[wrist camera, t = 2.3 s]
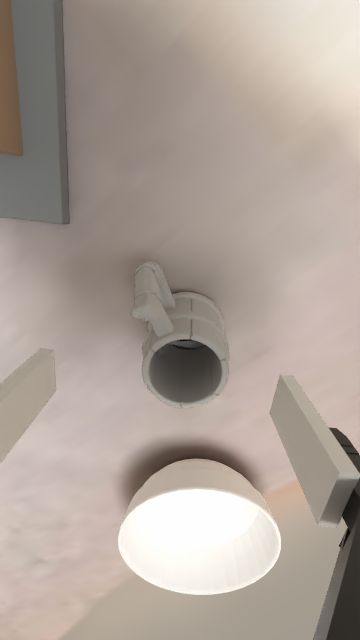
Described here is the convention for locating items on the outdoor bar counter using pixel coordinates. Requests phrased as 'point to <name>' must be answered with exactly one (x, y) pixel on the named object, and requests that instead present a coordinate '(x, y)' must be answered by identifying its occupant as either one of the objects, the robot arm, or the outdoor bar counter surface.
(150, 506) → the bowl
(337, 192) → the outdoor bar counter surface
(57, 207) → the plinth board
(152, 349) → the mug
